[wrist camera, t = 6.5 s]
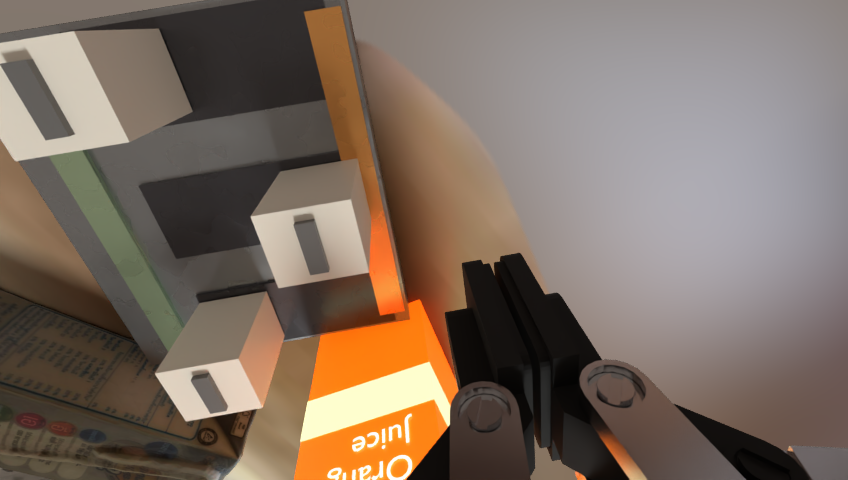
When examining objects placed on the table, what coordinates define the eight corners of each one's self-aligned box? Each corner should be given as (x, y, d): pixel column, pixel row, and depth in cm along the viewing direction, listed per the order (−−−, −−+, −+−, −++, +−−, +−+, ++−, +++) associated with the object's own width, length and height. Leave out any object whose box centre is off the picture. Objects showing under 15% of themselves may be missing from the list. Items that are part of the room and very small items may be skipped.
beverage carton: (221, 444, 34) (188, 532, 28) (-58, 352, 27) (-178, 442, 21) (266, 386, 31) (240, 470, 25) (-30, 268, 24) (-158, 345, 19)
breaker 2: (284, 335, 26) (261, 412, 21) (222, 346, 26) (183, 426, 21) (266, 291, 24) (236, 363, 19) (199, 303, 24) (151, 378, 19)
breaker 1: (192, 111, 19) (124, 144, 14) (107, 125, 19) (8, 164, 14) (158, 28, 17) (67, 31, 12) (65, 43, 17) (-66, 52, 12)
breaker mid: (371, 218, 22) (369, 276, 17) (300, 231, 22) (276, 292, 17) (357, 158, 21) (350, 202, 16) (280, 171, 21) (248, 219, 16)
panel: (408, 301, 28) (410, 322, 26) (165, 343, 28) (149, 368, 26) (343, -18, 19) (339, -22, 17) (-18, 41, 19) (-66, 43, 17)
